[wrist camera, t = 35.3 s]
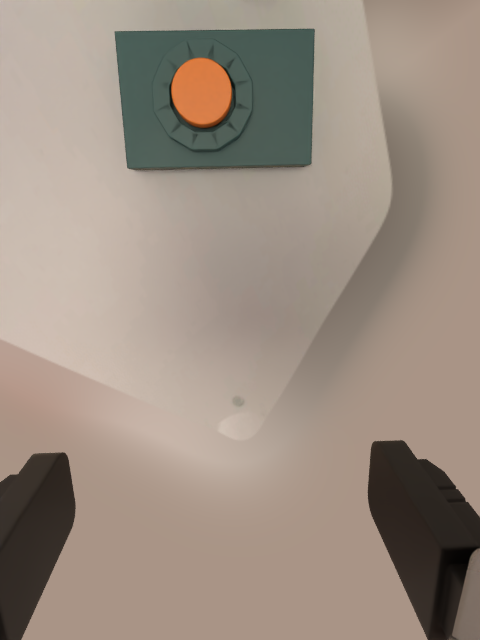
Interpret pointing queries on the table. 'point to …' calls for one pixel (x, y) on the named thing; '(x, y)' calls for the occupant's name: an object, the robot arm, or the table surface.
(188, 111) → the lid button
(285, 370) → the table surface
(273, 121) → the button housing
